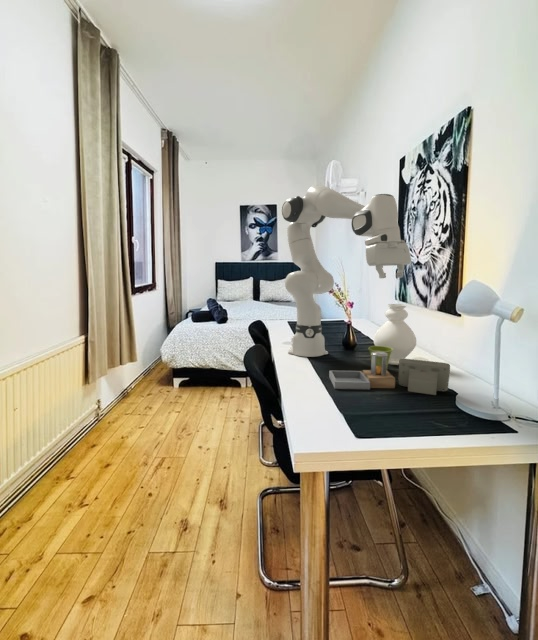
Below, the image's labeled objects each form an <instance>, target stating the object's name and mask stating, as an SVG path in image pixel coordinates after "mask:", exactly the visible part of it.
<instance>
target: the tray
mask: <svg viewBox="0 0 538 640" xmlns="http://www.w3.org/2000/svg"><path fill="white" fill-rule="evenodd" d="M328 375H329V376H328V378H329V380H330V382H331V385H332V386H333V389H334V390H364V391H365V390H371V388H370V381H369V380H368V379H367V378H366V376H365V375H364V374H363V370H329V373H328Z"/></svg>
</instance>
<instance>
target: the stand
mask: <svg viewBox="0 0 538 640" xmlns="http://www.w3.org/2000/svg"><path fill="white" fill-rule="evenodd" d="M362 373H363V374H364V375H365V376H366V378H367V379H368V380H369V381H370V389H395V387H396V377H395V376H393V374H391V373H390V371H388V369H387V370H386V376H381V374H376V376H374V375H371V369H362Z"/></svg>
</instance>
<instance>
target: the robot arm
mask: <svg viewBox="0 0 538 640" xmlns="http://www.w3.org/2000/svg"><path fill="white" fill-rule="evenodd" d="M397 205H398V204H397V202H396V198H395V196H394V195H392V194H388V193H381V194H379V193H378V194H374V195H373V196H372V197H371V198H370V200H369V202H368V203H367V204H366V205H363V204H361V203H358V202H356V201H354V200H353V199H350V198H349V197H347V196H345V195H343V194H342V193H340V192H338V191H336V190H335V189H332V188H330V187H327V186H324V185H319V184H315V185H314V184H313V185H312V186H310V187H309V189H308V190H306V193H305V196H303V197H301V196H299V195H297V196H295V197H291V198H287V199H286V200H285V201H284V202H283V204H282V207H281V215H282V217H283V220H284V221H287V222H289V224H288V225H287V228H286V229H287V231H286V233H287V242H288V246H289V252H290V256H291V260H292V262H293V264H294V265H296V266H297V267H299V268H300V270H296V271H293V272H290V273H288V274H287V275H286V276H285V280H284V286H285V289H286V291H287V292H288V293H289V294H290V295H291V296H292V298H293V300H294V302H295V305H296V324H295V331H296V332H295V334H293V336H292V337H291V339H290V340H291V341H290V342H291V347H290V349H288V351H287V353H288V354H290V355H294V356H298V357H306V358H307V357H308V358H309V357H311V358H315V357H321V356H324V355H328V354H329V351H327V349H325V336H324V335H323V334H322V330H323V328H322V324H321V321H322V308H321V306H320V305H319V304H318V303H316V301H315V298H314V295H323V294H326V293H328V292H330V291H332V289H333V288H334V284H335V280H334V276H333V275H332V273H330V272H329V271H328V270H326V269H325V267H324V266H323V265H322V263H321V262H320V260H319V259H318V257H317V253H316V250H315V246H314V244H313V239H312V235H311V228H316V227H317V226H318V225H319V224H321V223H322V222H323V221H324V220H325V219H326V218H329V219H340V220H342V219H346V220H347V219H349V220H351V229H352V232H353V233H354V234H355V236H359V237H368V238H365V240H364V244H365V246H366V247H365V258H366V259H365V260H366V263H367V265H368V266H369V267H375V270H376V272H377V273H378V278H379V279H386V278H387V276H386V275H387V273H386V272H385V271H384V267H385V266H396V268H397V272H396V273H395V274H396V278H397V279H400V278H404V273H403V272H404V271H405V266H406V265H410V264H411V261H412V258H411V253H410V249H409V245H408V244H407V242H406V241H405V240H404V239H401V230H400V226H399V223H398V221H399V213H398V212H399V211H398V206H397Z"/></svg>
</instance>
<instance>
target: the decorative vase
mask: <svg viewBox="0 0 538 640" xmlns="http://www.w3.org/2000/svg"><path fill="white" fill-rule="evenodd" d="M387 307H388V309H387V310H386V311H385V312H384V316H385V317H386V318H387V319H388V320H387V321H385V322H383V324H382V325H381V326H380V327H379V328H378V329H377V331H376V332H375V334H374V336H373V344H374V346H384V347H389V348H392V349H393V350H392V351H391V354H390V358H389V362H388V365H395V366H396V365H397V366H399V360H400V359H407V357H408V356H409V355H410V354H411V353H412V352H413V351H414V349H415V348H416V346H417V337H416V335H415V333H414V331H413V330H412V328H411V327H410V326H409V324H408V323H406V322H405V319H407V318H408V317H409V313H408V312H407V310H405V308H407V305H406V304H401V303H388V304H387Z"/></svg>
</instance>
